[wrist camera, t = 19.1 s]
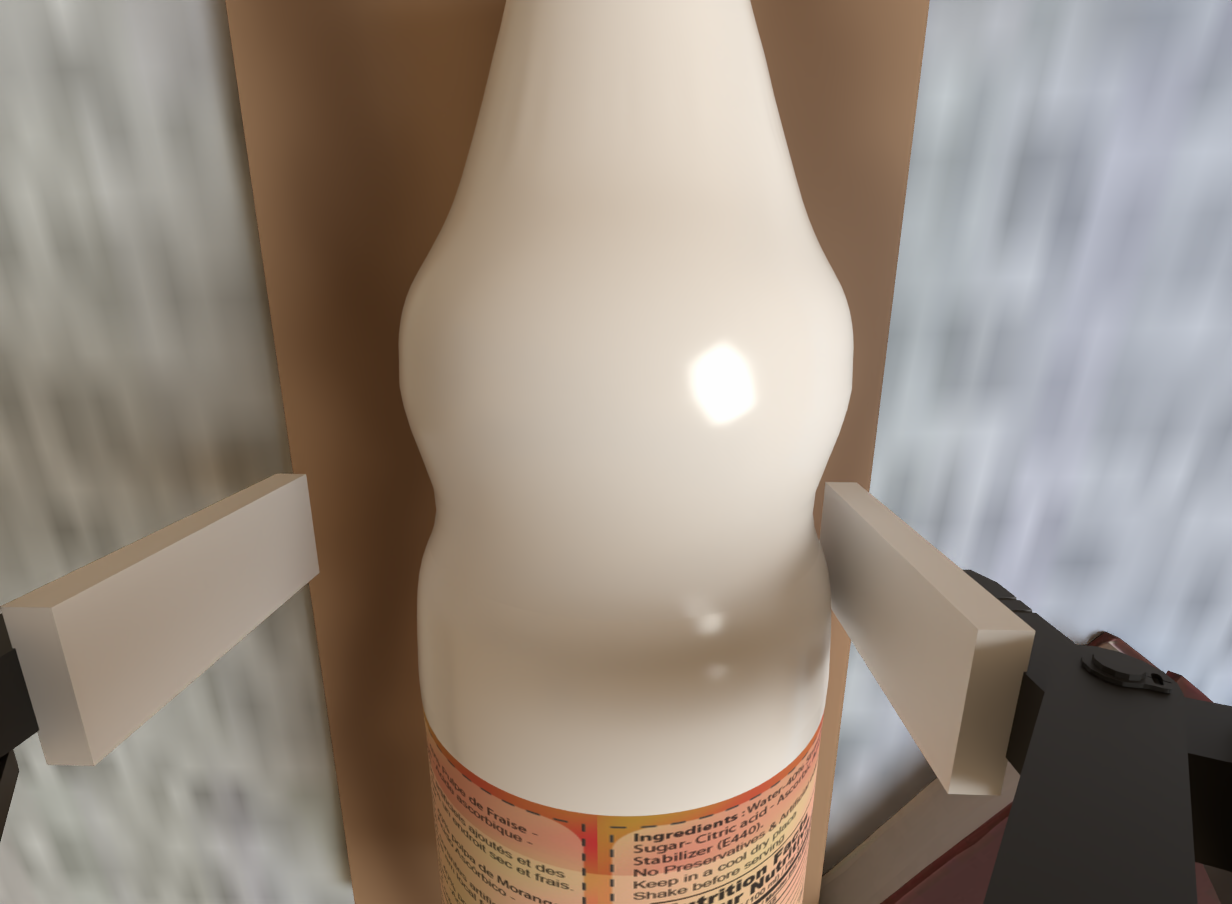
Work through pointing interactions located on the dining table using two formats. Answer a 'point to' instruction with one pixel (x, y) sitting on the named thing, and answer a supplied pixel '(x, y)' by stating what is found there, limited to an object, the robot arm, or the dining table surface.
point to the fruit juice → (625, 469)
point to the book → (950, 841)
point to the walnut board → (381, 278)
